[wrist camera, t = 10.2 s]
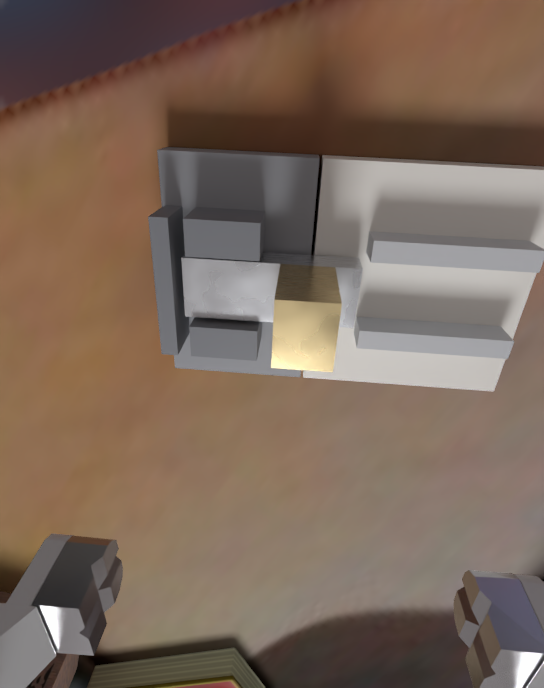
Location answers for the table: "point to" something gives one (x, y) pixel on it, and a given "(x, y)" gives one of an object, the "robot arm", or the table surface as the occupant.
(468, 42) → the table surface
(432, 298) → the plate
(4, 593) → the tissue box cover
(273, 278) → the bolt
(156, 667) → the hardcover book
